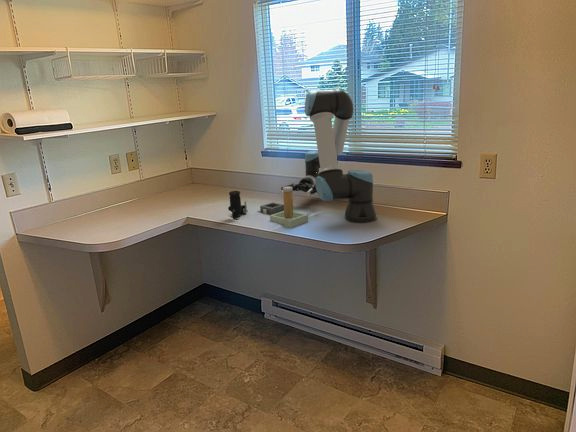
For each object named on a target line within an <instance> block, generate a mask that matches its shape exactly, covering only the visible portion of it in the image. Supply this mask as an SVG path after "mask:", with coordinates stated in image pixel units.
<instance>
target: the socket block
mask: <svg viewBox="0 0 576 432" xmlns="http://www.w3.org/2000/svg"><path fill="white" fill-rule="evenodd" d="M259 208H260V210H258V211H256V212H257V213H259V214H264V215H268V216H270V215H273V214H276V213H279V212H282V211H284V203H278V202H275V201H274V202H273V201H272V202H269V203H266V204H265V203H264V204H263V205H260V207H259Z"/></svg>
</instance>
